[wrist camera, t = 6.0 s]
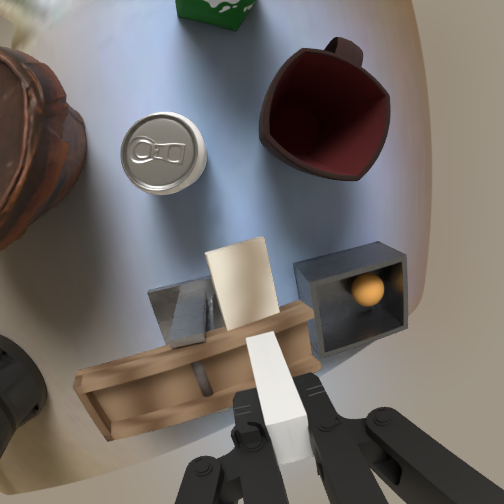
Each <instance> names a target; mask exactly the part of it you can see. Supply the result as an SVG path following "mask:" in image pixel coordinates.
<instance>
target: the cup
mask: <svg viewBox="0 0 504 504" xmlns="http://www.w3.org/2000/svg"><path fill="white" fill-rule="evenodd" d="M362 62H363V52H362V50H361V49H360V48H359V47H358V46H357V45H356V44H354V43H353V42H352V41H350V40H347V39H344V38H341V37H335V38H333V39H332V40H331V41H330V43H329V44H328V45H327V47H326V48H325V49H324V50H319V49H311V48H302V49H300V50H299V51H297V52H296V53H295V54H293V55H292V56H291V57H290V58H289V59H288V60H287V61H286V62H285V63H284V64H283V66H282V67H281V68H280V70H279V71H278V72H277V74H276V75H275V77H274V79H273V80H272V82H271V84H270V86H269V88H268V90H267V93H266V95H265V98H264V101H263V104H262V108H261V113H260V118H259V139H260V142H261V143H262V144H263V145H264V146H265V147H266V148H267V149H268V150H269V151H270V152H271V153H272V154H273V155H274V156H276V157H277V158H279V159H280V160H282V161H283V162H285V163H286V164H288V165H290V166H292V167H294V168H296V169H298V170H300V171H303V172H306V173H309V174H312V175H315V176H318V177H323V178H327V179H332V180H340V181H358V180H360V179H361V178H362V177H363V176H364V175H365V174H366V173H367V172H368V171H369V169H370V168H371V167H372V166H373V164H374V163H375V161H376V160H377V158H378V156H379V154H380V152H381V150H382V148H383V146H384V143H385V140H386V137H387V134H388V129H389V124H390V96H389V94H388V93H387V91H386V90H385V89H384V88H383V86H382V85H381V84H380V83H379V82H378V81H377V80H376V79H375V78H374V77H373V76H372V75H371V74H370V73H368V72H367V71H366V70H365V69H363V68H362V67H361V66H362Z"/></svg>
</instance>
